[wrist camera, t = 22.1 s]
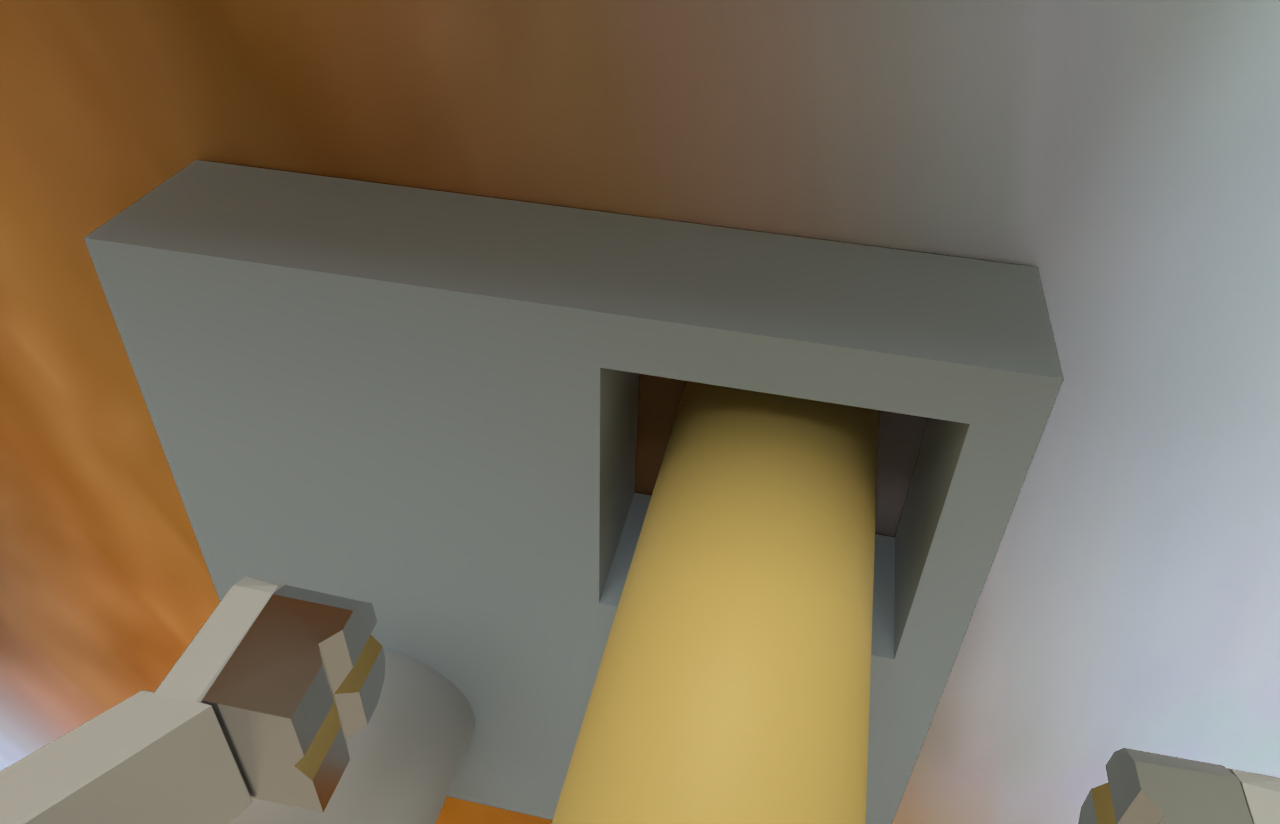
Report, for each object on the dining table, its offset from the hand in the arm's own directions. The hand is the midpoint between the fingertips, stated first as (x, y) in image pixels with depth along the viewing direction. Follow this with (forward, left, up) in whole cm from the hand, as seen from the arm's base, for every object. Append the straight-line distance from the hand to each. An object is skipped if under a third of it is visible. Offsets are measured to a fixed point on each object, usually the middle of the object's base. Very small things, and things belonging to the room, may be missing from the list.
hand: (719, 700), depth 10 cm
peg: (0, 0, -5) cm, 5 cm away
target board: (-3, -3, -5) cm, 7 cm away
